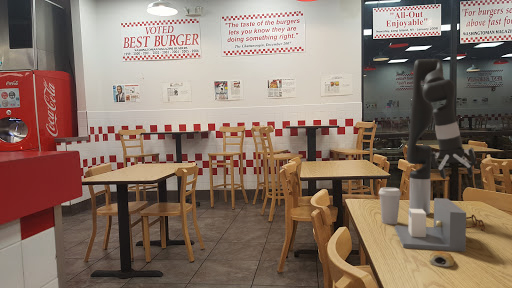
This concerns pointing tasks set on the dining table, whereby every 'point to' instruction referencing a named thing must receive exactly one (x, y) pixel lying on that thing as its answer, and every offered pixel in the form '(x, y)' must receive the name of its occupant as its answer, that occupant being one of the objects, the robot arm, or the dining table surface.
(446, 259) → the pastry
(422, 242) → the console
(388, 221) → the coffee cup
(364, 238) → the dining table surface
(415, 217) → the white box
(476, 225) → the glasses
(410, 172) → the robot arm
